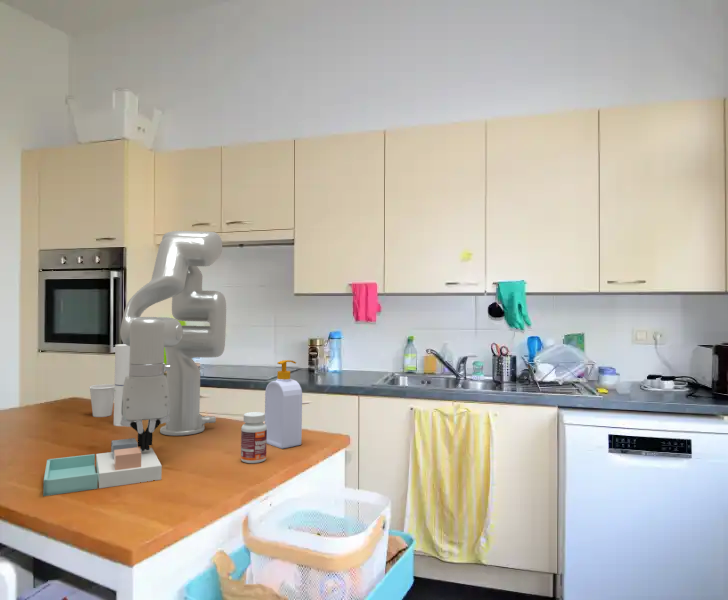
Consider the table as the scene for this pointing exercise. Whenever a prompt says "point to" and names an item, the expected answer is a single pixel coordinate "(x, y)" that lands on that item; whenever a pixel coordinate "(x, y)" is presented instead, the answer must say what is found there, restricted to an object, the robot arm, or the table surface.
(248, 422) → the pill bottle
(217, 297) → the robot arm
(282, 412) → the soap bottle
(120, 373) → the cylindrical container
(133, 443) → the grey block
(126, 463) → the salmon pink box
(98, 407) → the dixie cup
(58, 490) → the tray
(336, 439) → the table surface
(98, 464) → the white flat block
